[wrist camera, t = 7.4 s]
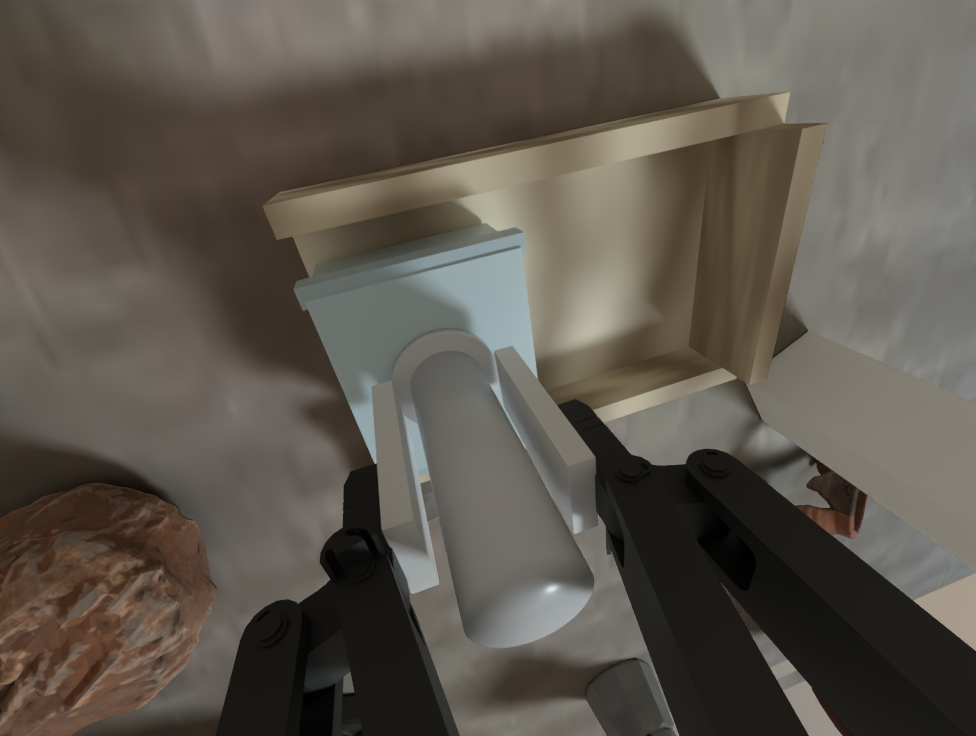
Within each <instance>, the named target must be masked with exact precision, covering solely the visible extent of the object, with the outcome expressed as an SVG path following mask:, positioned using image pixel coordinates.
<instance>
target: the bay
mask: <svg viewBox="0 0 976 736" xmlns="http://www.w3.org/2000/svg"><path fill="white" fill-rule="evenodd" d="M789 95H790V92H783V93H772V94H761V95H750V96H739V97H728V98H719V99H715V100H710V101H705V102H700V103H696V104H691V105H686V106H682V107H677V108H672V109H668V110H663V111H658V112H653V113H649V114H644V115H639V116H635V117H630V118H625V119H621V120H616V121H611V122H606V123H602V124H597V125H592V126H588V127H583V128H578V129H574V130H569V131H564V132H559V133H555V134H550V135H545V136H541V137H536V138H531V139H526V140H522V141H517V142H512V143H508V144H503V145H498V146H494V147H489V148H484V149H479V150H475V151H470V152H465V153H461V154H456V155H451V156H447V157H442V158H437V159H432V160H428V161H423V162H418V163H414V164H409V165H404V166H400V167H395V168H390V169H385V170H381V171H376V172H371V173H367V174H362V175H357V176H353V177H348V178H343V179H338V180H334V181H329V182H324V183H320V184H315V185H310V186H306V187H301V188H296V189H291V190H287V191H282V192H279V193H277V194H276V195H275V196H274V197H273V198H271V199H270V200H269V201H268V202H266V203H265V204H264V205H263V206H262V207H263V209H264V212H265V214H266V216H267V218H268V221H269V223H270V225H271V228H272V230H273V232H274V235H275V237H276V239H277V240H280V239H284V238H289V237H293V239H294V241H295V244H296V246H297V248H298V251H299V253H300V256H301V258H302V261H303V263H304V265H305V268H306V270H307V273H308V275H309V278H310V277H312V275H313V272H314V268H315V265H316V264H318V263H322V262H326V261H330V260H334V259H338V258H343V257H347V256H351V255H355V254H359V253H363V252H367V251H372V250H376V249H380V248H384V247H388V246H392V245H396V244H401V243H405V242H409V241H413V240H417V239H421V238H425V237H430V236H434V235H438V234H442V233H446V232H450V231H455V230H459V229H463V228H467V227H471V226H475V225H479V224H484V223H487V224H488V225H490V226H491V227H492V228H494V229H495V230H497V231H502V230H506V229H510V228H514V227H516V228H518V229H519V230H521V231H523V232H524V236H525V244H526V254H522V255H523V263H524V271H525V279H526V287H527V296H528V304H529V312H530V320H531V328H532V336H533V344H534V353H535V361H536V369H537V377H538V381H539V382H540V383H541V385H542V386H543V387H544V389H545V390H546V391H547V393H548V394H549V395H550V397H551V398H552V399H553V401H554V402H555V404H556V405H558V404H561V403H564V402H567V401H571V400H574V399H577V400H579V401H581V402H583V403H585V404H587V405H589V406H590V408H591V409H592V410H593V411H594V412H595V413H596V415H597V417H599V418H600V419H601V420H602V422H603V423H604V422H607V421H610V420H613V419H616V418H619V417H622V416H625V415H628V414H631V413H634V412H637V411H640V410H643V409H646V408H649V407H652V406H655V405H659V404H662V403H665V402H668V401H671V400H674V399H677V398H680V397H683V396H686V395H689V394H692V393H695V392H698V391H701V390H704V389H707V388H710V387H713V386H716V385H719V384H722V383H725V382H728V381H731V380H734V379H737V377H738V378H739V379H741V380H742V381H744V382H745V383H747V384H749V385H750V384H753V383H756V382H759V381H762V380H765V379H767V378H768V374H769V370H770V365H771V361H772V357H773V353H774V348H775V344H776V340H777V336H778V331H779V327H780V323H781V318H782V314H783V310H784V306H785V301H786V297H787V293H788V289H789V284H790V280H791V276H792V271H793V267H794V263H795V259H796V254H797V250H798V246H799V242H800V237H801V233H802V229H803V224H804V220H805V216H806V212H807V207H808V203H809V199H810V195H811V190H812V186H813V182H814V177H815V173H816V169H817V165H818V160H819V156H820V152H821V148H822V143H823V139H824V135H825V130H826V126H827V123H803V124H784V122H785V117H786V111H787V106H788V101H789ZM522 444H523V446H524V448H525V449H526V446H525V444H524V442H523V443H522ZM419 480H420V485H421V491H422V496H423V501H424V506H425V512H426V517H427V521H429V520H431V519H433V518H435V517H437V516H438V512H437V507H436V503H435V498H434V494H433V489H432V485H431V480H430V476H429V474H426V475H423V476H420V477H419Z"/></svg>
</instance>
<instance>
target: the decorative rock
mask: <svg viewBox="0 0 976 736" xmlns="http://www.w3.org/2000/svg"><path fill="white" fill-rule="evenodd" d="M216 595H217V589H216V586H215V584H214V583H213V581H212V578H211V574H210V571H209V565H208V559H207V554H206V549H205V545H204V541H203V538H202V536H201V533H200V529H199V526H198V524H197V522H196V521H195V520H191V519H188V518H186V517H184V516H182V515H180V514H179V512H178V510H177V508H176V506H174V505H172V504H170V503H168V502H166V501H164V500H161V499H159V498H158V497H157V496H156V495H151V494H148V493H144V492H141V491H138V490H134V489H131V488H127V487H119V486H113V485H109V484H104V483H89V484H83V485H81V486H78V487H75V488H72V489H70V490H67V491H62V492H58V493H54V494H51V495H47V496H43V497H41V498H40V499H38V500H36V501H35V502H33V503H32V504H30V505H28V506H26V507H23V508H20V509H17V510H14V511H12V512H10V513H9V514H7V515H5V516H3V517H1V518H0V736H71V735H73V734H74V733H76V732H77V731H78V730H80V729H82V728H84V727H86V726H88V725H90V724H92V723H93V722H96V721H99V720H102V719H104V718H106V717H110V716H113V715H117V714H121V713H124V712H128V711H133V710H138V709H140V708H141V707H142V706H144V705H145V704H146V703H148V702H149V701H150V700H151V699H152V698H153V697H154V696H155V695H156V694H157V693H158V692H159V691H160V690H161V689H162V688H164V687H165V686H166V685H167V684H168V683H169V682H170V681H171V680H172V679H173V678H174V677H175V676H176V675H177V674H178V673H180V672H181V671H182V670H184V669H185V667H186V665H187V662H188V660H189V657H190V655H191V653H192V652H193V650H194V648H195V646H196V645H197V643H198V642H199V632H200V630H201V628H202V626H203V625H204V622H205V620H206V618H207V617H208V616H209V614H210V613H211V612H212V606H213V601H214V599H215V597H216Z"/></svg>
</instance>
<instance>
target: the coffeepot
mask: <svg viewBox="0 0 976 736" xmlns="http://www.w3.org/2000/svg"><path fill="white" fill-rule="evenodd" d="M586 700H587V702H588V704H589V705H590V707H591V709H592V711H593V712H594V714H595V716H596V717H597V719H598V721H599V723H600V724H601V726H602V728H603V729H604V731H605V733H606V735H607V736H676V734H675V732H674V731H673V722H672V719H671V717H670V714H669V712H668V709H667V706H666V704H665V701H664V699H663V696H662V694H661V691H660V689H659V686H658V684H657V681H656V679H655V676H654V674H653V671H652V668H651V666H650V665H649V664H647V663H646V662H645V661H643V660H640V659H633V660H628V661H624V662H621V663H618V664H616V665H614V666H612V667H610V668H608V669H606V670H605V671H603V672H602V673H601V674H599V675H598V676H597V677H596V678H595V679H594V680H593V681H592V682H591V683H590V684H589V686H588V688H587V696H586Z"/></svg>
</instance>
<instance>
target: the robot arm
mask: <svg viewBox="0 0 976 736" xmlns="http://www.w3.org/2000/svg"><path fill="white" fill-rule="evenodd" d="M494 355H495V361H496V366H497V372H498V377H499V383H500V388H501V394H502V399H503V405H504V408H505V410H506V411H507V413H508V415H509V417H510V419H511V421H512V422H513V424H514V426H515V428H516V430H517V431H518V433H519V435H520V437H521V439H522V441H523V442H524V444H525V446H526V448H527V450H528V452H529V453H530V455H531V457H532V459H533V461H534V462H535V464H536V466H537V468H538V470H539V472H540V473H541V475H542V477H543V479H544V481H545V482H546V484H547V486H548V488H549V490H550V492H551V493H552V495H553V497H554V499H555V501H556V503H557V504H558V506H559V508H560V510H561V512H562V513H563V515H564V517H565V519H566V521H567V523H568V524H569V526H570V528H571V530H572V532H573V533H574V534H576V533H579V532H581V531H584V530H587V529H589V528H592V527H595V526H597V525H598V514H599V516H600V517H601V519H602V521H603V522H604V524H605V525H606V549H607V555H608V554H611V551H612V553H613V556H614V559H615V562H616V564H617V567H618V570H619V572H620V575H621V578H622V581H623V583H624V586H625V589H626V592H627V594H628V597H629V600H630V602H631V605H632V608H633V611H634V613H635V616H636V619H637V621H638V624H639V627H640V630H641V632H642V635H643V638H644V641H645V643H646V646H647V649H648V651H649V654H650V657H651V660H652V662H653V665H654V668H655V670H656V673H657V676H658V679H659V681H660V684H661V687H662V690H663V692H664V695H665V698H666V700H667V703H668V706H669V709H670V711H671V714H672V717H673V719H674V722H675V725H676V728H677V730H678V733H679V735H680V736H809V735H808V734H807V732H806V730H805V728H804V727H803V725H802V723H801V722H800V720H799V718H798V716H797V715H796V713H795V711H794V709H793V708H792V706H791V704H790V702H789V701H788V699H787V697H786V695H785V694H784V692H783V690H782V688H781V687H780V685H779V683H778V681H777V680H776V678H775V676H774V675H773V673H772V671H771V669H770V667H769V666H768V664H767V662H766V661H765V659H764V657H763V655H762V654H761V652H760V650H759V648H758V647H757V645H756V643H755V641H754V640H753V638H752V636H751V634H750V633H749V631H748V629H747V627H746V626H745V624H744V622H743V620H742V619H741V617H740V615H739V614H738V612H737V610H736V608H735V607H734V605H733V603H732V601H731V600H730V598H729V596H728V594H727V593H726V591H725V589H724V587H723V586H722V584H723V585H724V586H725V588H726V589H727V590H728V591H729V592H730V593H731V595H732V596H733V597H734V598H735V599H736V600H737V601H738V603H739V604H740V605H741V606H742V607H743V608H744V610H745V611H746V612H747V613H748V614H749V615H750V616H751V618H752V619H753V620H754V621H755V622H756V623H757V625H758V626H759V627H760V628H761V629H762V630H763V631H764V633H765V634H766V635H767V636H768V637H769V638H770V640H771V641H772V642H773V643H774V644H775V645H776V646H777V648H778V649H779V650H780V651H781V652H782V653H783V655H784V656H785V657H786V658H787V659H788V660H789V661H790V663H791V664H792V665H793V666H794V667H795V668H796V670H797V671H798V672H799V673H800V674H801V675H802V677H803V678H804V679H805V680H806V681H807V682H808V683H809V685H810V686H811V687H812V688H813V689H814V690H815V692H816V693H817V694H818V695H819V696H820V697H821V698H822V700H823V701H824V702H825V703H826V704H827V705H828V707H829V708H830V709H831V710H832V711H833V712H834V713H835V715H836V716H837V717H838V718H839V719H840V720H841V722H842V723H843V724H844V725H845V726H846V727H847V728H848V730H849V731H850V732H851V733H852V734H853V735H854V736H976V651H975V650H973V649H972V648H971V647H970V646H969V645H967V644H966V643H965V642H963V641H962V640H961V639H960V638H959V637H957V636H956V635H955V634H954V633H952V632H951V631H950V630H949V629H947V628H946V627H945V626H944V625H943V624H941V623H940V622H939V621H938V620H936V619H935V618H934V617H932V616H931V615H930V614H929V613H928V612H926V611H925V610H924V609H923V608H921V607H920V606H919V605H918V604H916V603H915V602H914V601H913V600H911V599H910V598H909V597H908V596H906V595H905V594H904V593H903V592H901V591H900V590H899V589H898V588H897V587H895V586H894V585H893V584H892V583H890V582H889V581H888V580H887V579H885V578H884V577H883V576H882V575H880V574H879V573H878V572H877V571H875V570H874V569H873V568H872V567H870V566H869V565H868V564H867V563H865V562H864V561H863V560H862V559H860V558H859V557H858V556H857V555H855V554H854V553H853V552H852V551H850V550H849V549H848V548H847V547H845V546H844V545H843V544H842V543H841V542H839V541H838V540H837V539H836V538H834V537H833V536H832V535H831V534H829V533H828V532H827V531H826V530H824V529H823V528H822V527H821V526H819V525H818V524H817V523H816V522H814V521H813V520H812V519H811V518H809V517H808V516H807V515H806V514H804V513H803V512H802V511H801V510H799V509H798V508H797V507H796V506H794V505H793V504H792V503H791V502H789V501H788V500H787V499H786V498H785V497H783V496H782V495H781V494H780V493H778V492H777V491H776V490H775V489H773V488H772V487H771V486H770V485H768V484H767V483H766V482H765V481H763V480H762V479H761V478H760V477H758V476H757V475H756V474H755V473H753V472H752V471H751V470H750V469H748V468H747V467H746V466H745V465H743V464H742V463H741V462H740V461H738V460H737V459H736V458H734V457H733V456H731V455H729V454H728V453H726V452H722V451H719V450H716V449H702V450H697V451H695V452H693V453H692V454H690V455H689V457H688V459H687V461H686V464H684V465H668V466H656V465H652V464H651V463H650V462H649V461H647V460H645V459H643V458H642V457H638V456H634V455H631V454H630V453H629V452H628V451H627V449H626V448H625V447H624V446H623V445H622V444H621V442H620V441H619V440H618V439H617V438H616V437H615V436H614V434H613V433H612V432H611V431H610V430H609V429H608V427H607V426H606V425H604V423H603V422H602V420H601V419H600V418H599V417H597V415H596V413H595V412H594V411H593V410H592V409H591V408H590V406H589V405H587V404H585V403H583V402H581V401H579V400H577V399H574V400H571V401H567V402H564V403H561V404H558V405H556V404H555V402H554V401H553V399H552V398H551V397H550V395H549V394H548V393H547V391H546V390H545V389H544V387H543V386H542V385H541V383H540V382H539V381H538V379H537V378H536V377H535V375H534V374H533V373H532V371H531V370H530V369H529V367H528V366H527V365H526V363H525V362H524V361H523V359H522V358H521V357H520V355H519V354H518V353H517V351H516V350H515V348H514V347H513V346H509V347H505V348H502V349H498V350H495V351H494ZM371 389H372V403H373V417H374V431H375V445H376V458H377V463H376V464H373V465H370V466H367V467H364V468H360V469H357V470H354V471H351V472H350V474H349V476H348V478H347V480H346V482H345V484H344V502H343V511H344V513H343V528H342V529H340V530H339V531H337V532H336V533H334V534H333V535H332V536H331V537H330V538H329V539H328V541H327V542H326V543H325V545H324V547H323V549H322V551H321V553H320V564H321V565H322V567H323V568H324V570H325V572H326V573H327V575H328V576H329V578H330V580H329V581H328V583H327V584H326V585H324V586H323V587H322V588H321V589H319V590H318V591H317V592H315V593H314V594H312V595H311V596H309V597H308V598H306V599H305V600H303V601H302V602H300V603H299V604H297V602H294V601H291V600H288V599H287V600H280V601H276V602H274V603H272V604H270V605H268V606H266V607H265V608H263V609H262V610H261V611H260V612H259V613H257V614H256V615H255V616H254V617H253V619H252V620H251V621H250V623H249V624H248V625H247V626H246V628H245V630H244V633H243V635H242V637H241V640H240V644H239V647H238V651H237V655H236V659H235V663H234V667H233V671H232V675H231V679H230V683H229V686H228V690H227V694H226V698H225V702H224V706H223V710H222V714H221V718H220V722H219V725H218V729H217V733H216V736H460V735H459V732H458V730H457V727H456V724H455V721H454V719H453V716H452V713H451V710H450V708H449V705H448V702H447V699H446V697H445V694H444V691H443V688H442V686H441V683H440V680H439V677H438V675H437V672H436V669H435V666H434V664H433V661H432V658H431V655H430V653H429V650H428V647H427V644H426V642H425V639H424V636H423V633H422V631H421V628H420V625H419V622H418V620H417V617H416V614H415V611H414V609H413V607H412V605H411V603H410V598H409V590H408V587H409V589H410V591H411V593H412V594H414V593H417V592H420V591H422V590H425V589H428V588H430V587H433V586H436V585H438V584H439V580H438V574H437V569H436V564H435V559H434V553H433V548H432V543H431V538H430V533H429V527H428V522H427V517H426V512H425V506H424V501H423V496H422V491H421V485H420V480H419V475H418V470H417V465H416V459H415V454H414V449H413V444H412V438H411V434H410V431H409V429H408V426H407V423H406V420H405V417H404V414H403V411H402V409H401V406H400V403H399V400H398V397H397V394H396V392H395V389H394V386H393V383H392V381H388V382H385V383H381V384H378V385H374V386H371ZM721 583H722V584H721ZM350 671H351V676H352V681H353V686H354V691H355V696H346V697H343V677H344V676H345V675H346V674H347V673H349V672H350Z"/></svg>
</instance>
